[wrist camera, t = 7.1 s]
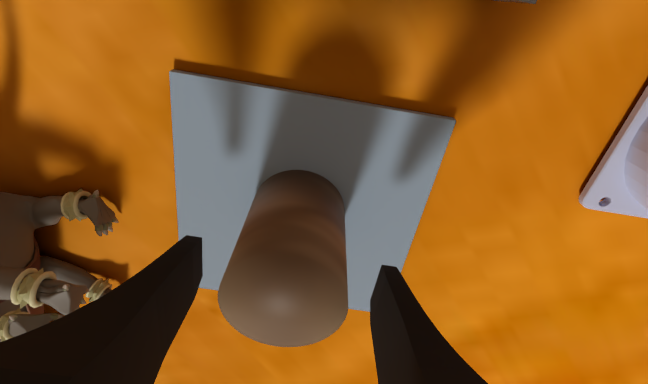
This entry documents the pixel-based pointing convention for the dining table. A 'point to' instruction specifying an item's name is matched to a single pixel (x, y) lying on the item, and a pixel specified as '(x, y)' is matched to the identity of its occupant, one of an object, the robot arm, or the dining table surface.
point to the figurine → (44, 260)
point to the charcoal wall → (519, 1)
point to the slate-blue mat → (301, 167)
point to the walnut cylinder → (289, 263)
